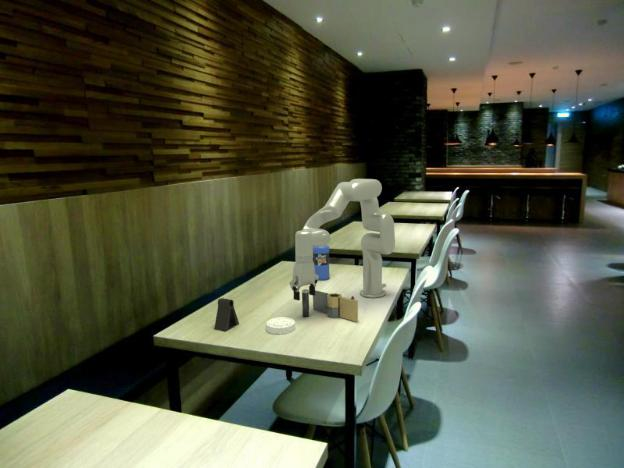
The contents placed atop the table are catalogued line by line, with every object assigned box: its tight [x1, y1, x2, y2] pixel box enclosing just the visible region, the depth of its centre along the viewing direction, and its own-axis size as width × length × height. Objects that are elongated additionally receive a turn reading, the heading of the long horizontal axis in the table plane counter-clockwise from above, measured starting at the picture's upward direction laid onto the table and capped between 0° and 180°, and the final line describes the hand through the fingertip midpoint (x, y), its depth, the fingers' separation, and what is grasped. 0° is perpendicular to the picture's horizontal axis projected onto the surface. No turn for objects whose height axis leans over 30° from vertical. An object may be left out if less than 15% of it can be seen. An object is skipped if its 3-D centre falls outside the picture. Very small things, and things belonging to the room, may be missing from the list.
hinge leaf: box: [327, 292, 359, 323], centre depth 190 cm, size 6×16×9 cm, turn 47°
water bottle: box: [313, 244, 330, 282], centre depth 252 cm, size 9×9×25 cm
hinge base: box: [312, 289, 341, 319], centre depth 196 cm, size 6×16×9 cm, turn 47°
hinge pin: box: [301, 288, 310, 319], centre depth 192 cm, size 3×3×12 cm
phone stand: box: [213, 297, 240, 332], centre depth 182 cm, size 9×6×12 cm, turn 151°
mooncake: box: [265, 316, 296, 335], centre depth 179 cm, size 12×12×4 cm
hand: (304, 297), depth 192 cm, fingers open, 9 cm apart
